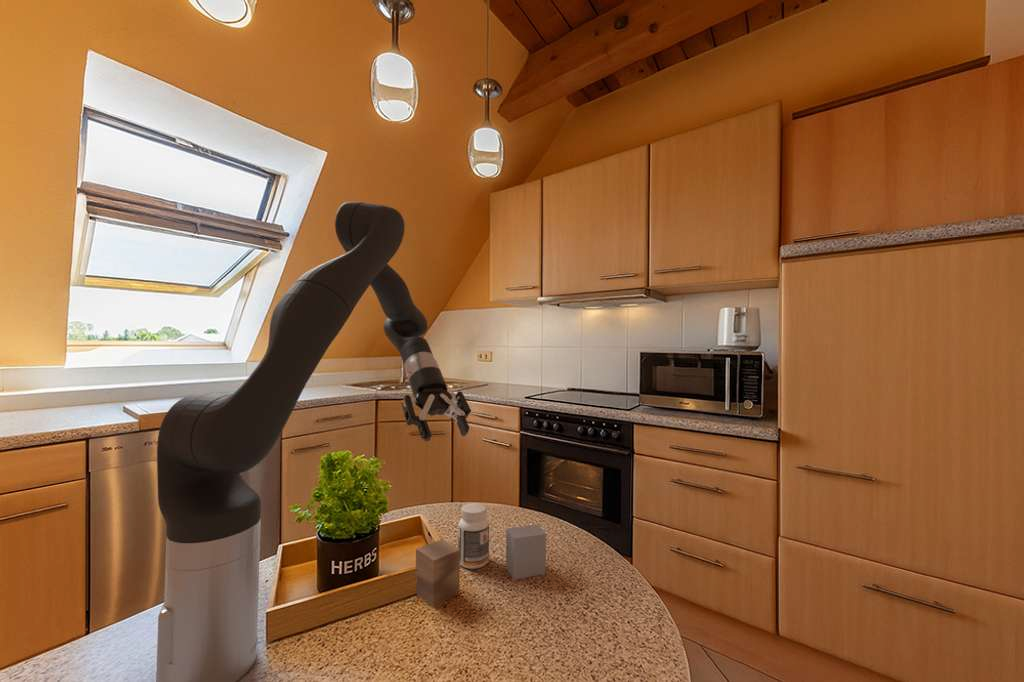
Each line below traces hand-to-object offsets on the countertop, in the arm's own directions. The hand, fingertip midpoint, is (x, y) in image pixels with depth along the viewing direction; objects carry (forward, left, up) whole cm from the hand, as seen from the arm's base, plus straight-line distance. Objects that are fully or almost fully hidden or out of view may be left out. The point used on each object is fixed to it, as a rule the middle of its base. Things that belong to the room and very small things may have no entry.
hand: (447, 436), depth 83 cm
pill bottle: (+2, -10, -21) cm, 24 cm away
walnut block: (-7, -16, -21) cm, 28 cm away
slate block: (+9, -17, -21) cm, 29 cm away
